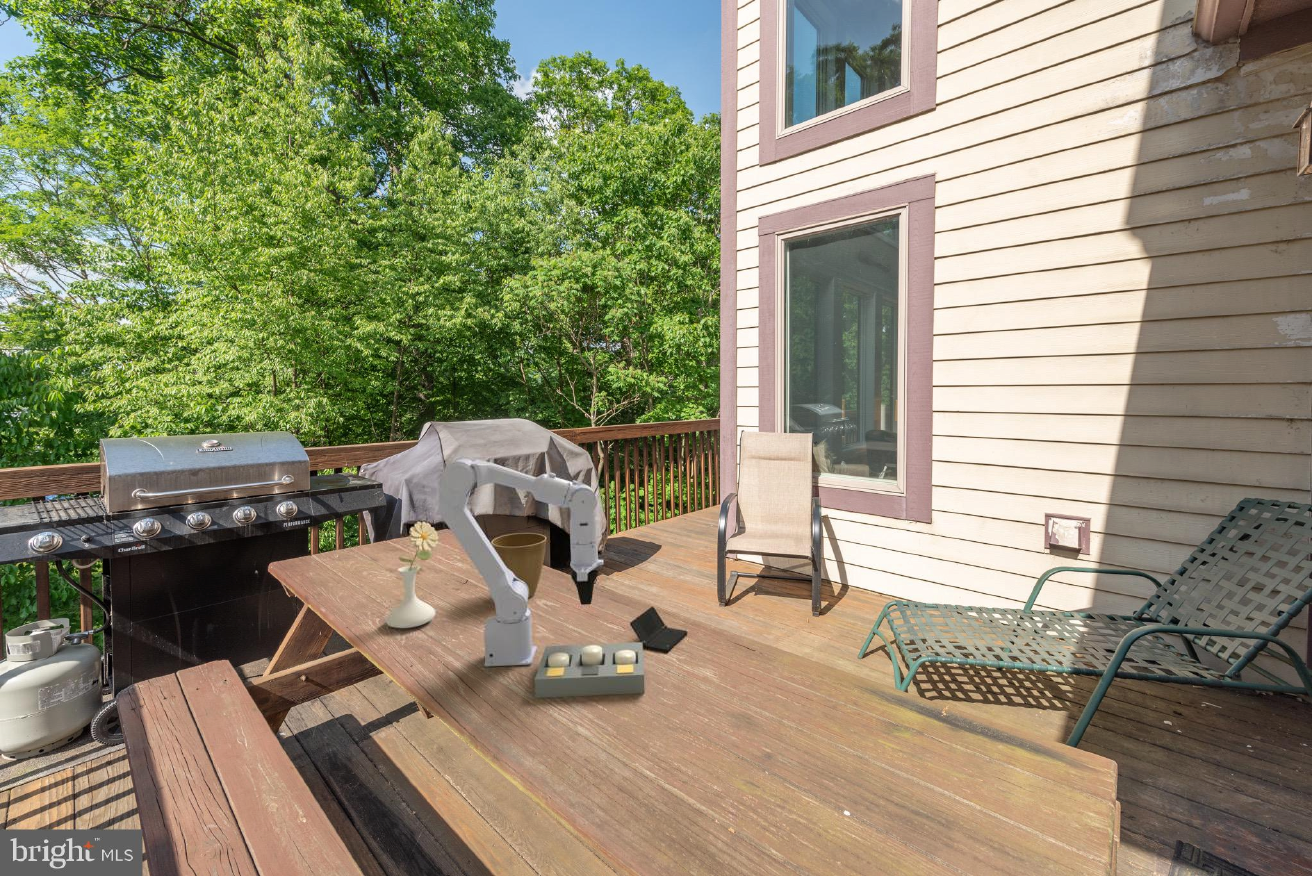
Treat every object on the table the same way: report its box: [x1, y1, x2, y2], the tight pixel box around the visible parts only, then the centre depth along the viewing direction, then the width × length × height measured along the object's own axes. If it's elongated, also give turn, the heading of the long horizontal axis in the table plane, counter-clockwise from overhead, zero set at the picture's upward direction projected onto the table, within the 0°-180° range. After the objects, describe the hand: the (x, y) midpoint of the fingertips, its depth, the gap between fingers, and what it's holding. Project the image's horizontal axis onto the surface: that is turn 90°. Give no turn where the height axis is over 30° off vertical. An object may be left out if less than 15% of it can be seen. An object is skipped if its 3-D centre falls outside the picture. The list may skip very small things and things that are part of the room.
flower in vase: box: [385, 521, 439, 629], centre depth 140 cm, size 13×11×25 cm
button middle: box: [581, 645, 602, 666], centre depth 111 cm, size 4×4×3 cm
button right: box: [615, 650, 636, 665], centre depth 111 cm, size 4×4×3 cm
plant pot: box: [490, 532, 547, 599], centre depth 159 cm, size 15×15×16 cm
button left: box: [548, 653, 569, 667], centre depth 111 cm, size 4×4×3 cm
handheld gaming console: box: [629, 606, 688, 654], centre depth 128 cm, size 12×7×10 cm
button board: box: [534, 641, 646, 699], centre depth 111 cm, size 20×14×4 cm
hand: (586, 603), depth 123 cm, fingers closed
